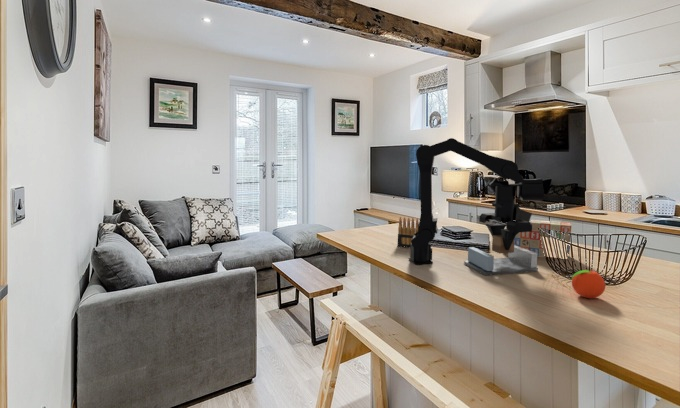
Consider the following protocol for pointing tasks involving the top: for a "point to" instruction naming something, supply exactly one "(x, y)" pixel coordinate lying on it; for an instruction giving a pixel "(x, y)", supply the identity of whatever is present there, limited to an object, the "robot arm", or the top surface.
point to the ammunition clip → (406, 232)
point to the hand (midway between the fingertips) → (502, 248)
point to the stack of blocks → (533, 238)
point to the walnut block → (501, 245)
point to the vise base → (511, 263)
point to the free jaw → (480, 258)
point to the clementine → (588, 283)
